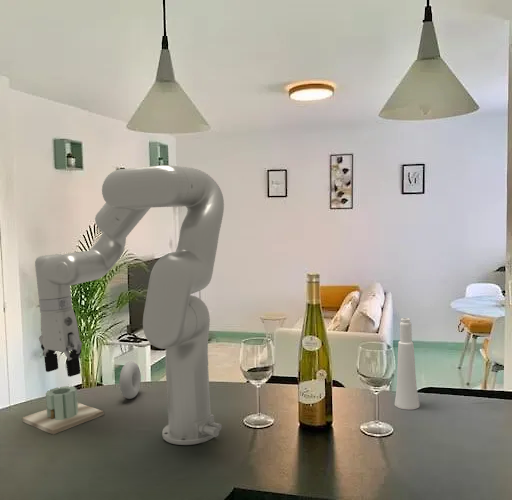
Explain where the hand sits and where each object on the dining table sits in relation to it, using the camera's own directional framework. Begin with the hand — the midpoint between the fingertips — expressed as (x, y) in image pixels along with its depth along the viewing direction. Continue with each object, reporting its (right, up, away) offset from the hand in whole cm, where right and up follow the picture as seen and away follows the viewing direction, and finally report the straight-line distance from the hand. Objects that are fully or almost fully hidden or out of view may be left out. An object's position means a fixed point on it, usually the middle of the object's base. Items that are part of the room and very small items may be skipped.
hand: (62, 372), depth 133 cm
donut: (+14, -10, +14) cm, 22 cm away
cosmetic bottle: (+86, -9, +1) cm, 86 cm away
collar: (0, -11, +1) cm, 11 cm away
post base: (0, -12, +1) cm, 12 cm away
